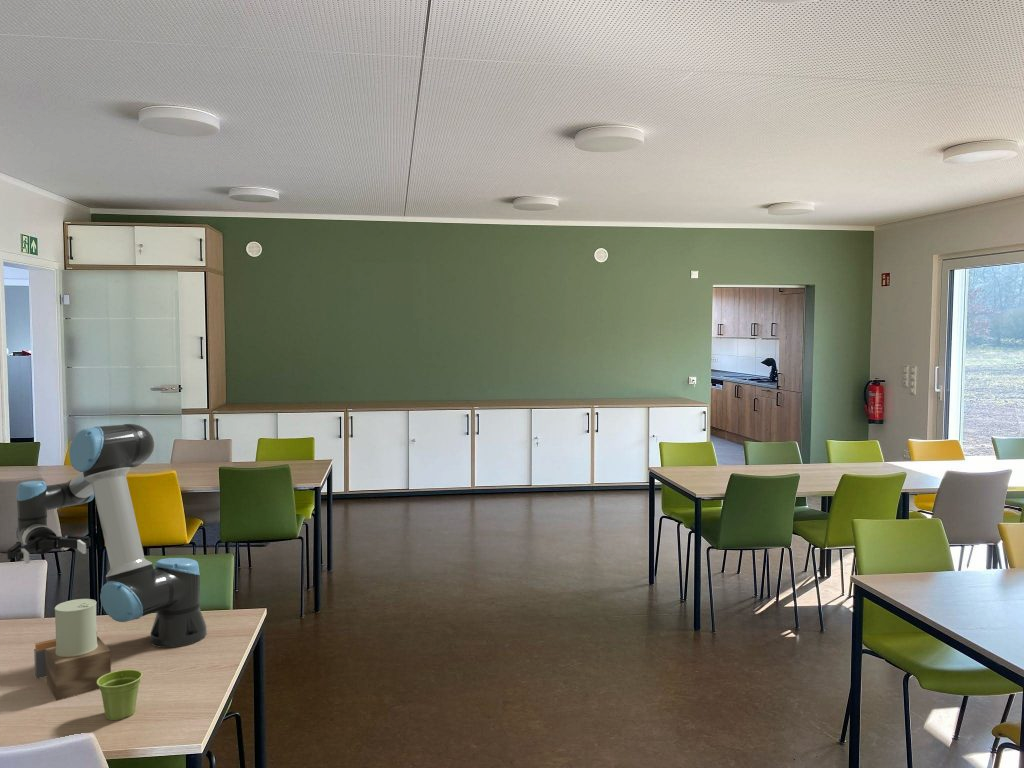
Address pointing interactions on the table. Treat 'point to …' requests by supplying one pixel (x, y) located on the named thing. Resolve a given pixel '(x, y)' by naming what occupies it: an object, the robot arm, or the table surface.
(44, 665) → the hurdle posts
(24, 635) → the table surface
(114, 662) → the table surface
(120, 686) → the plant pot
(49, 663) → the walnut stand
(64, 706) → the table surface
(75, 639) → the can
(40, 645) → the terracotta bar
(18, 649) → the table surface
